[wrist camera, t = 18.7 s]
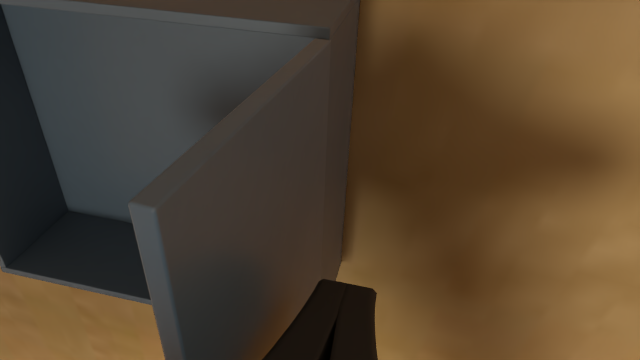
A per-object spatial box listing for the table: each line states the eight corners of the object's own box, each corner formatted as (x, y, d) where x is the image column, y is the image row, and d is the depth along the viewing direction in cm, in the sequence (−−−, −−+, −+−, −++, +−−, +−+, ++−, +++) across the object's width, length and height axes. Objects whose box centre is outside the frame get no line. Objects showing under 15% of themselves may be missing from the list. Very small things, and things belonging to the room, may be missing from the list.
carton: (361, -14, 15) (330, 27, 12) (340, 263, 22) (317, 342, 18) (-16, -47, 17) (-135, -21, 14) (69, 211, 24) (2, 272, 20)
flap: (314, 37, 11) (331, 40, 11) (307, 355, 18) (317, 358, 17) (124, 202, 6) (154, 209, 6) (214, 567, 12) (228, 574, 12)
